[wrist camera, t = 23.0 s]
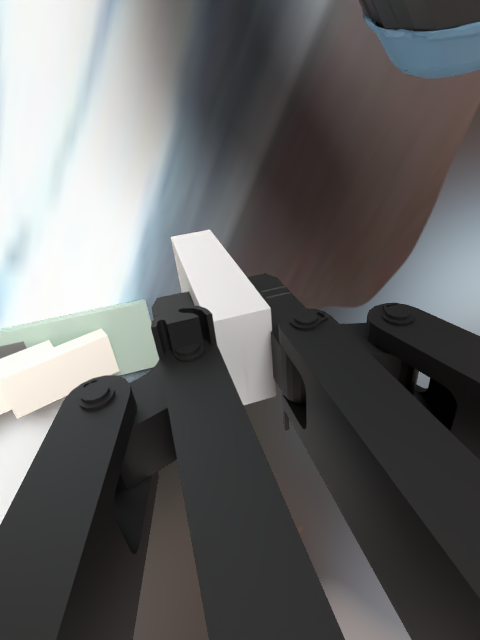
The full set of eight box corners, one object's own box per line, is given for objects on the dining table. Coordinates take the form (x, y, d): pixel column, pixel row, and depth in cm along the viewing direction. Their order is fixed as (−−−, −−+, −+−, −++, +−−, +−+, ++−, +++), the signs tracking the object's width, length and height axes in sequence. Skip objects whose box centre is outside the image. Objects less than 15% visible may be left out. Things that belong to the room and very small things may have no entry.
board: (145, 298, 42) (145, 302, 42) (161, 360, 47) (161, 365, 46) (-159, 362, 37) (-165, 368, 36) (-106, 425, 41) (-111, 432, 40)
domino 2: (107, 335, 40) (-5, 381, 35) (119, 370, 43) (17, 419, 37) (101, 328, 42) (-7, 371, 36) (113, 363, 44) (13, 408, 39)
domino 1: (53, 347, 39) (-71, 397, 34) (69, 383, 42) (-44, 434, 36) (49, 339, 40) (-71, 386, 35) (64, 374, 43) (-45, 423, 38)
